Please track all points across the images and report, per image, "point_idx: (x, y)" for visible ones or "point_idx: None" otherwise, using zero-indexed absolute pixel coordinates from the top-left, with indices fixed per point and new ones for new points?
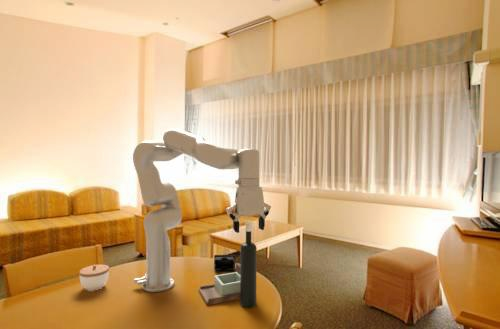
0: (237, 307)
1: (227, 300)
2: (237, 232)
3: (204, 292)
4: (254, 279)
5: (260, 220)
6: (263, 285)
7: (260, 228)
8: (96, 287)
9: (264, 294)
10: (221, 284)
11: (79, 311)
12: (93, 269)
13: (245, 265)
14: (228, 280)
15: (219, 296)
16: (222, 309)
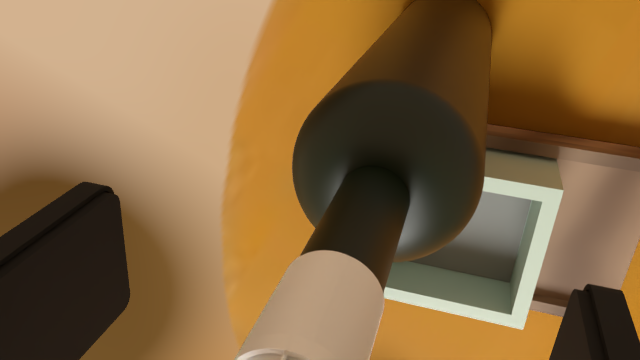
0: (521, 35)
1: (529, 131)
2: (618, 292)
3: (609, 263)
4: (406, 19)
5: (17, 339)
6: (256, 174)
7: (118, 248)
8: None
9: (303, 86)
10: (559, 202)
11: None
12: None
13: (474, 70)
14: (436, 274)
15: (579, 159)
16: (613, 61)
